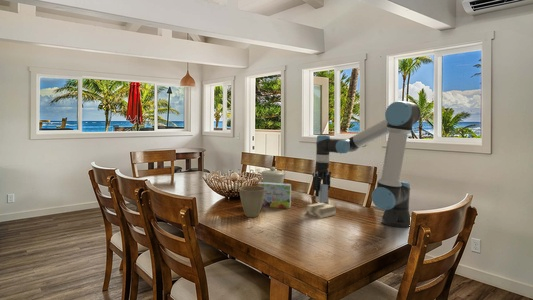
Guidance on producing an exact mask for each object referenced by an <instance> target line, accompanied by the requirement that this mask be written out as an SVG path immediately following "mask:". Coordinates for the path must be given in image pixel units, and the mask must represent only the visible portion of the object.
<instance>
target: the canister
mask: <svg viewBox="0 0 533 300" xmlns="http://www.w3.org/2000/svg"><path fill="white" fill-rule="evenodd" d="M260 174H261V175H260V176H261V179H262V178H263V182H268V183H283V184H284V180H285V175H286V173H285V172H284V171H282V170H278V169H277V170H276V167H275V166H271V167H270V168H269V169H266V170H263V171H261V172H260Z"/></svg>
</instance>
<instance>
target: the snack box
mask: <svg viewBox="0 0 533 300" xmlns="http://www.w3.org/2000/svg"><path fill="white" fill-rule="evenodd" d="M256 186H261V187H264V188H265V194H264V199H263V204H262V207H263V208H264V207H265V208H267V207H268V208H275V209H276V208H278V209H287V210H288V209H291V207H292V183H284V182H283V183H268V182H262V181H258V182H257V185H256Z"/></svg>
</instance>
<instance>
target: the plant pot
mask: <svg viewBox="0 0 533 300" xmlns="http://www.w3.org/2000/svg"><path fill="white" fill-rule="evenodd" d="M238 189H239V196H240V197H239V198H240V202H241V205H242V210H243V212H244V215H245V216H246V217H247V218H257V217H259V215H260V213H261V209H262V207H263V206H262V204H263V199H264V194H265V188H264V187H261V186H257V185H244V186H240V187H239V188H238Z"/></svg>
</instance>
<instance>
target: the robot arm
mask: <svg viewBox="0 0 533 300" xmlns="http://www.w3.org/2000/svg"><path fill="white" fill-rule="evenodd" d="M384 115H385V116H384V117H385V119H383V120H382V121H379V122H377V123H376V124H374V125H372V126H370V127H368V128H366V129H364V130H362V131H360V132H358V133H357V134H355V135H352V136H350V137H349V138H343V139H342V138H341V139H335V138H331V137H330V135H327V134H325V135H324V134H319V135H317V136H316V145H315V147H316V148H315V149H316V152H315V161H316V162H315V169H316V171H315V172H313V173H312V179H313V180H312V190H313V191H315V193H314V194H315V199H316V201H315V202H316V203H320V191H319V190H320V185H321V184H326V185H328V191H329V190H330V189H331V174H332V172H331V171H329V168H330V153H336V154H347V153H350V152H351V153H352V152H356V151H357V150H359V148H361V147H363V146H365V145H367V144H370V143H371V142H374V141H375V140H378V139H380V138H382V137H384V136H386V135H387V136H388V137H387V142H386V148H385V153H384V158H383V166H382V169H381V171H382V173H381V177H380V178H379V179H378V180H377V183H376V188H374V190H372V193H371V201H372V203H373V204H374V206H375V207H376V208H378V209H379V210H383V211H384V212H383V213H382V217H381V223H382V224H384V225H386V226H388V227H393V226H394V227H396V228H408V227H407V226H409V225H410V217H411V213H410V196H411V193H410V191H411V184H410V183H409V182H407V181H401V180H400V177H401V172H402V168H403V167H402V166H403V161H404V155H405V152H406V147H407V146H406V144H407V139H408V134H409V133H411V132H412V131H413V125H415V124H416V123H418V122H419V120H420V119H421V116H422V111H421V108H420V107H419V105H417V103H415V102H413V101H404V100H398V101H397V100H395V101H394V102H392V103H390V104H389V105H388V106H387V108H386V109H385V112H384ZM317 188H318V189H317ZM411 218H412V217H411ZM394 227H393V228H394Z"/></svg>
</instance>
